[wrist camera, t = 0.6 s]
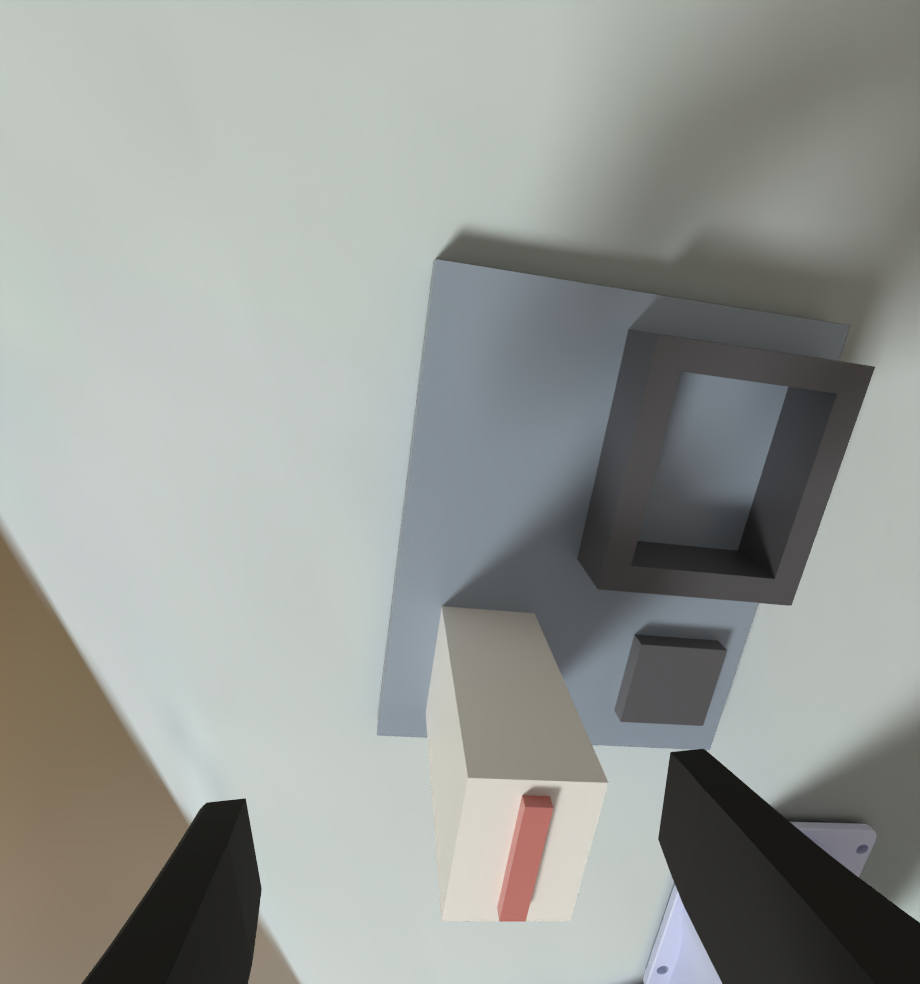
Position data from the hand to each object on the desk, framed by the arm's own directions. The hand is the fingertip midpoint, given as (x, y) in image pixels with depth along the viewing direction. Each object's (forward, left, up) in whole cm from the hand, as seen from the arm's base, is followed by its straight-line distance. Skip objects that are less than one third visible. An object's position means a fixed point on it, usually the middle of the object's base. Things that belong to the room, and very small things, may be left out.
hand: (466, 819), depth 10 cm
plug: (-3, -2, -9) cm, 9 cm away
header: (+5, -7, -9) cm, 12 cm away
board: (+2, -5, -10) cm, 11 cm away
